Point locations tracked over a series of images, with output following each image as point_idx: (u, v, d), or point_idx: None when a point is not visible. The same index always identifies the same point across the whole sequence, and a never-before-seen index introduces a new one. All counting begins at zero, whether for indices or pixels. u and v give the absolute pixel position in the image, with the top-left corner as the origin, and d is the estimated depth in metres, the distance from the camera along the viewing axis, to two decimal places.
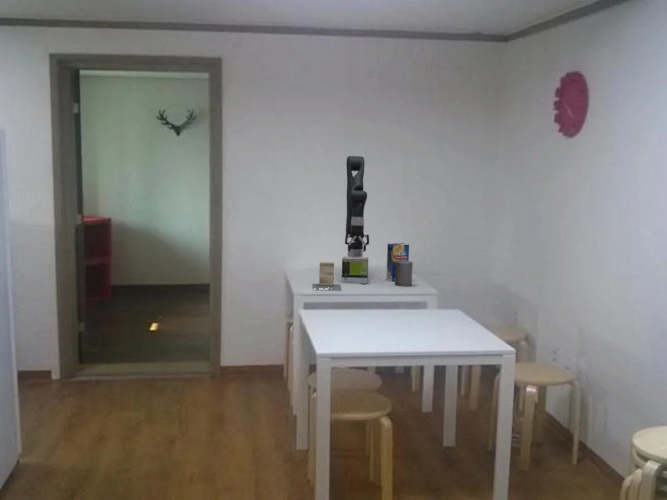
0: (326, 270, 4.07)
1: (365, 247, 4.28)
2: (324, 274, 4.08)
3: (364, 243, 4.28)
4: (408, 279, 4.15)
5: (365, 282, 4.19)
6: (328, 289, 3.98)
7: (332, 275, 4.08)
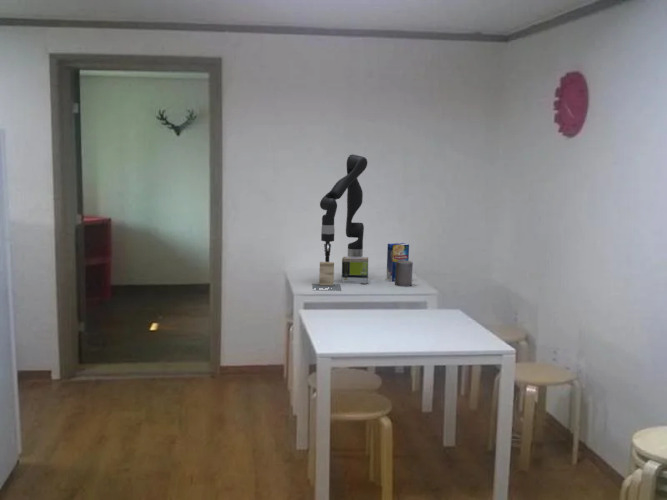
0: (326, 270, 4.07)
1: None
2: (324, 274, 4.08)
3: (329, 253, 4.18)
4: (408, 279, 4.15)
5: (365, 282, 4.19)
6: (328, 289, 3.98)
7: (332, 275, 4.08)
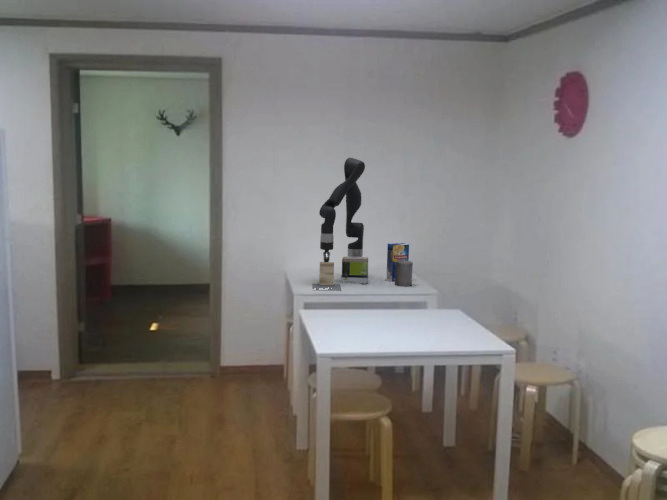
0: (326, 270, 4.07)
1: None
2: (324, 274, 4.08)
3: None
4: (408, 279, 4.15)
5: (365, 282, 4.19)
6: (328, 289, 3.98)
7: (332, 275, 4.08)
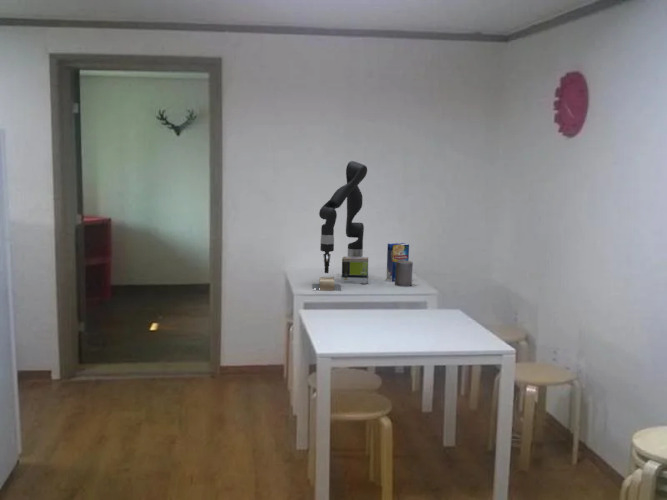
0: None
1: None
2: None
3: (328, 263, 4.10)
4: (408, 279, 4.15)
5: (365, 282, 4.19)
6: None
7: None
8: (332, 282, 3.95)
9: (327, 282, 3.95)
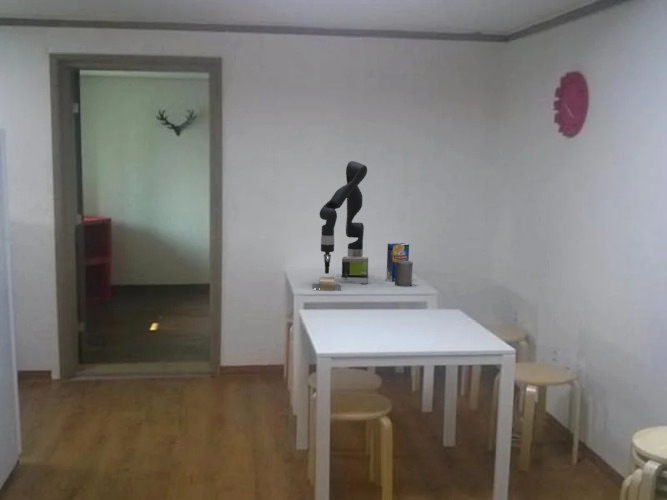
0: None
1: None
2: None
3: None
4: (408, 279, 4.15)
5: (365, 282, 4.19)
6: None
7: None
8: (332, 282, 3.95)
9: (327, 282, 3.95)
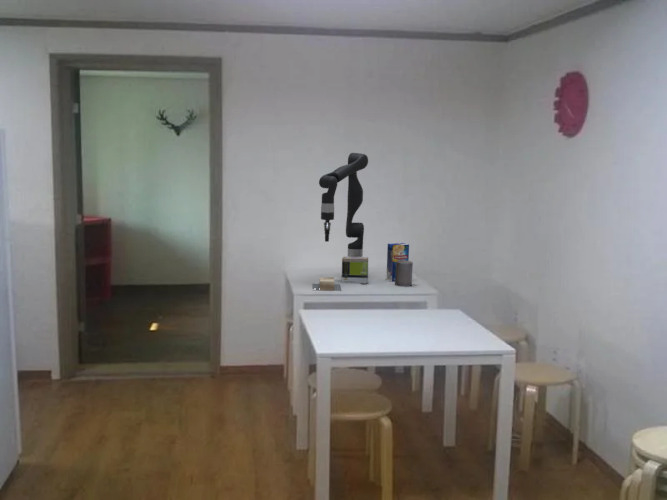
0: None
1: None
2: None
3: None
4: (408, 279, 4.15)
5: (365, 282, 4.19)
6: None
7: None
8: (332, 282, 3.95)
9: (327, 282, 3.95)
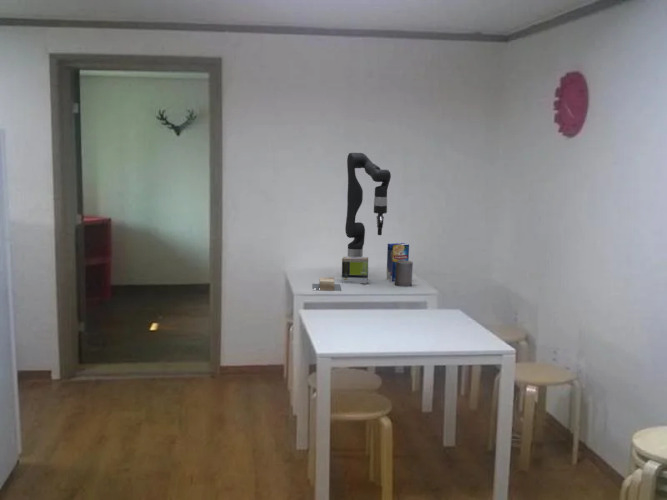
0: None
1: None
2: None
3: None
4: (408, 279, 4.15)
5: (365, 282, 4.19)
6: None
7: None
8: (332, 282, 3.95)
9: (327, 282, 3.95)
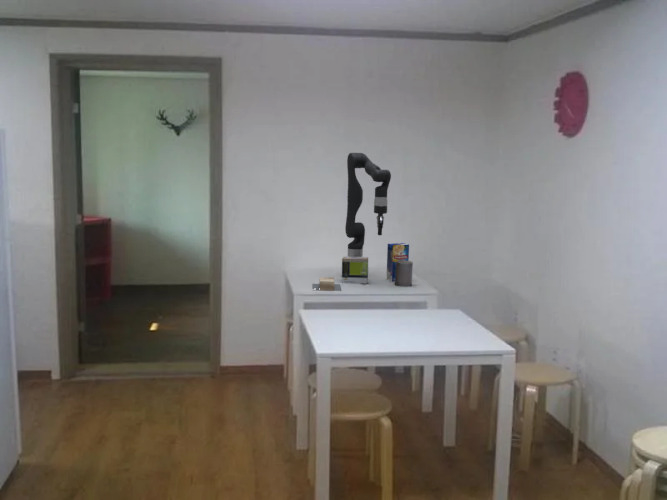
0: None
1: None
2: None
3: (382, 226, 4.14)
4: (408, 279, 4.15)
5: (365, 282, 4.19)
6: None
7: None
8: (332, 282, 3.95)
9: (327, 282, 3.95)
